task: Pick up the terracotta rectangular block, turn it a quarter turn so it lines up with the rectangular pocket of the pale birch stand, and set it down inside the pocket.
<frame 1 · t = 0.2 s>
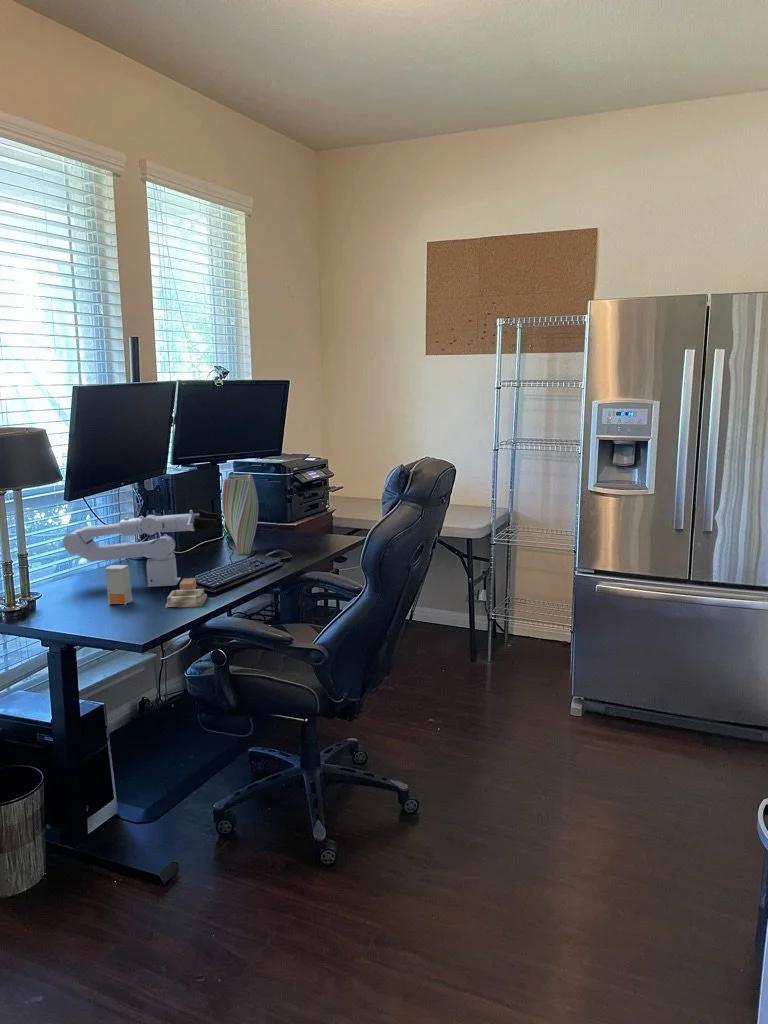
hand: (218, 520, 251), 21 cm above the table, tool horizontal, fingers open, 7 cm apart
skincare box: (120, 604, 234), on the table
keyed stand: (186, 602, 233), on the table
keyed block: (188, 594, 241), on the table
vase: (244, 553, 292), on the table
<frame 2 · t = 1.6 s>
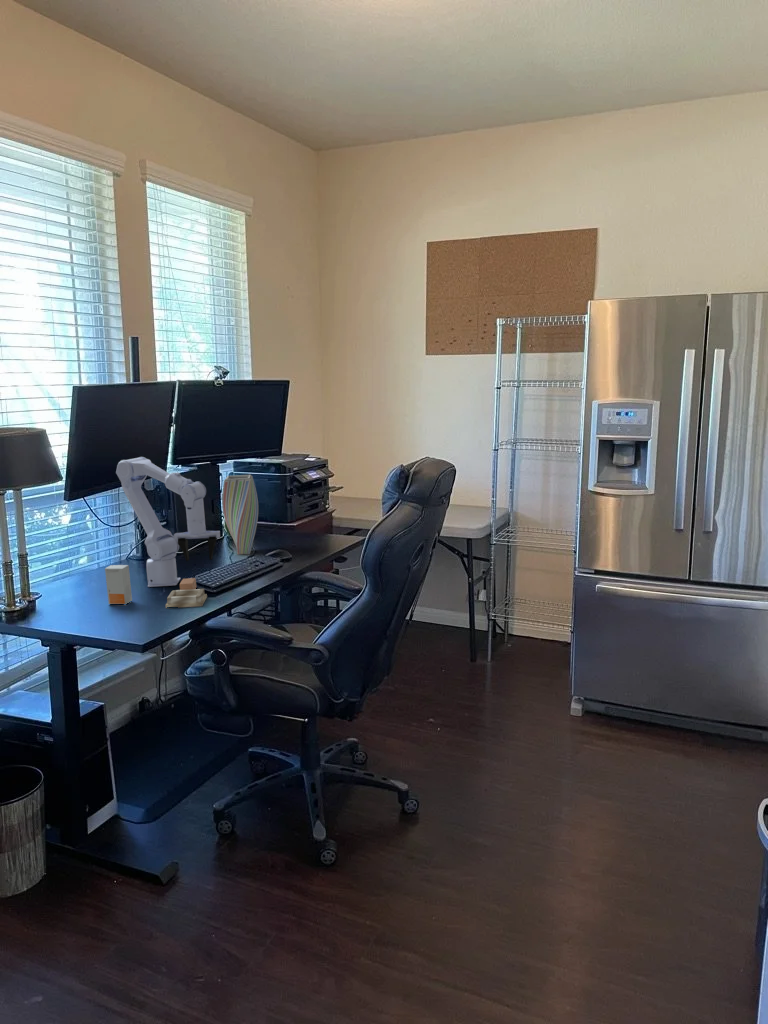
hand: (199, 559, 246), 9 cm above the table, tool pointing down, fingers open, 7 cm apart
nothing on the table moved.
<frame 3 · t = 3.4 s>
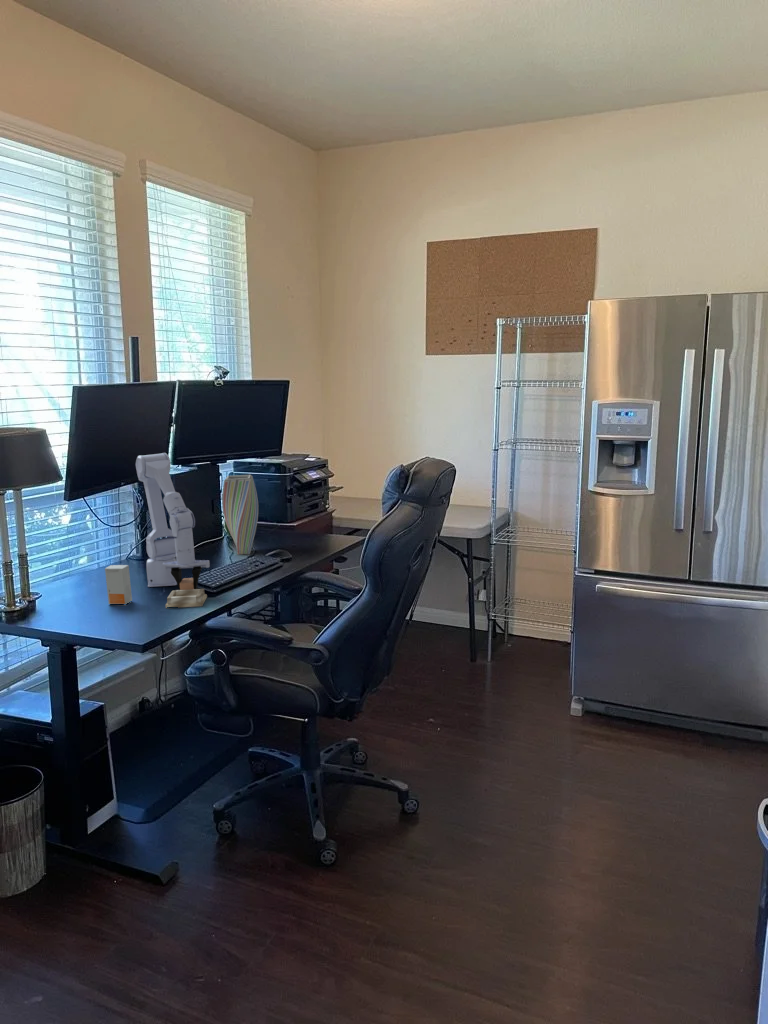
hand: (188, 589, 241), 1 cm above the table, tool pointing down, fingers closed on keyed block, 4 cm apart
keyed block: (188, 594, 241), on the table, touching gripper
everything else where it was.
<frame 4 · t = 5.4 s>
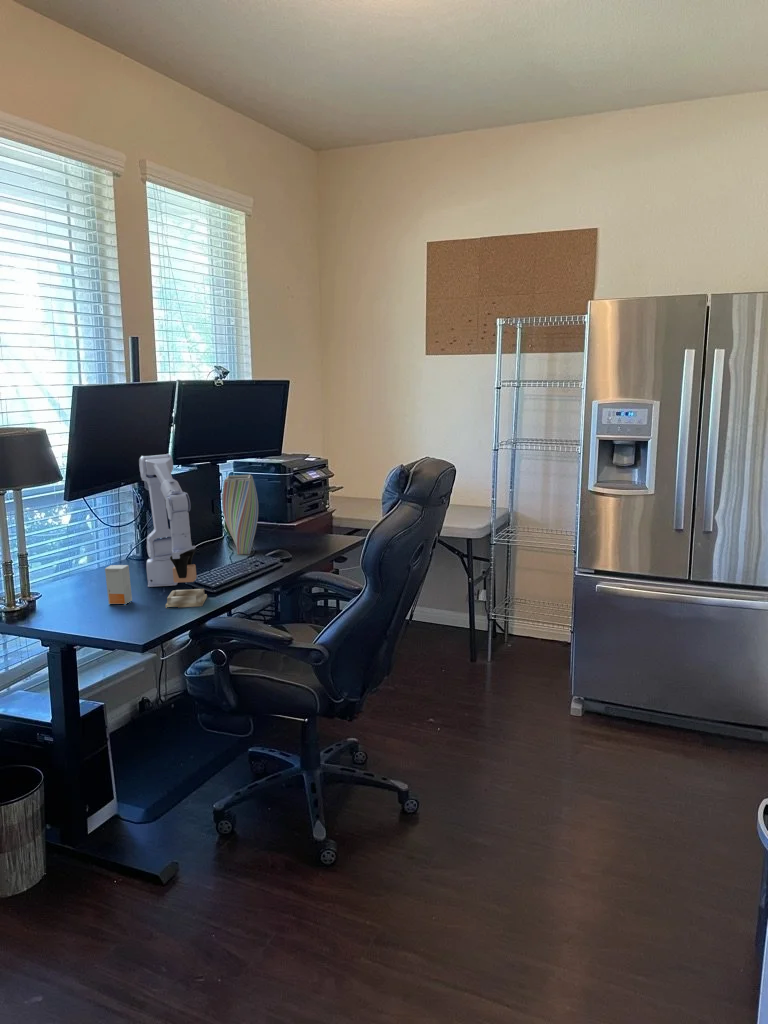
hand: (184, 575, 232), 8 cm above the table, tool pointing down, fingers closed on keyed block, 4 cm apart
keyed block: (185, 580, 232), point 7 cm above the table, touching gripper
everything else where it was.
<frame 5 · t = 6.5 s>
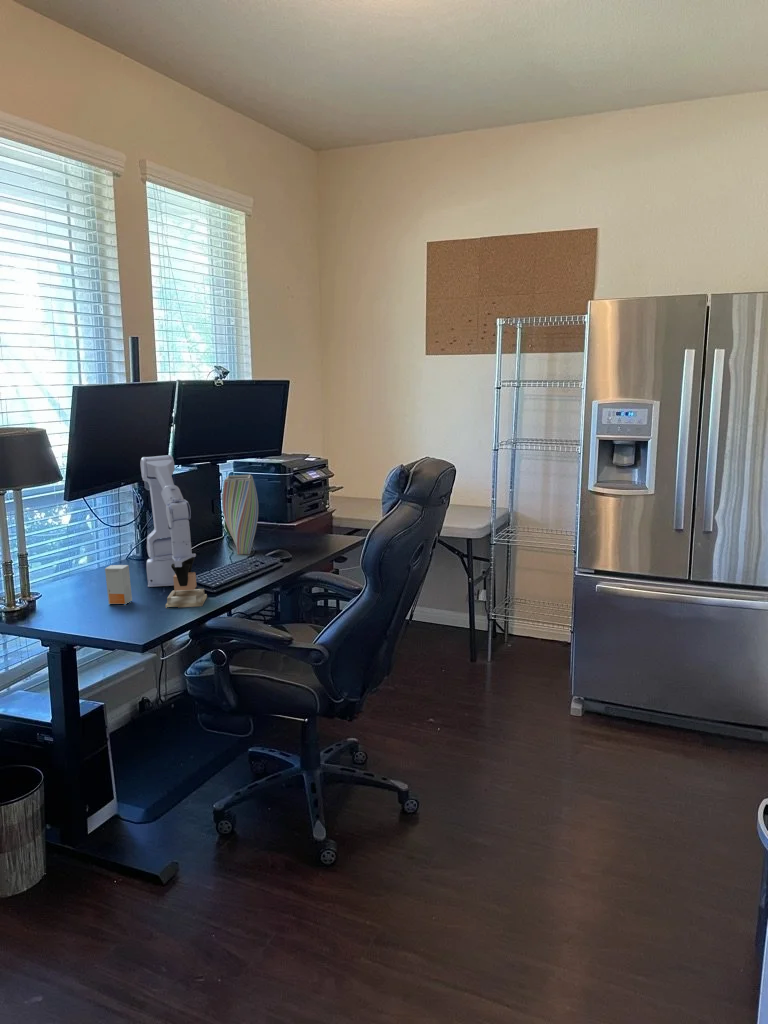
hand: (185, 583, 231), 6 cm above the table, tool pointing down, fingers closed on keyed block, 4 cm apart
keyed block: (185, 588, 232), point 5 cm above the table, touching gripper
everything else where it was.
when the fingers open (4 cm above the table, at t = 7.4 s): keyed block drops 1 cm, resting on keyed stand.
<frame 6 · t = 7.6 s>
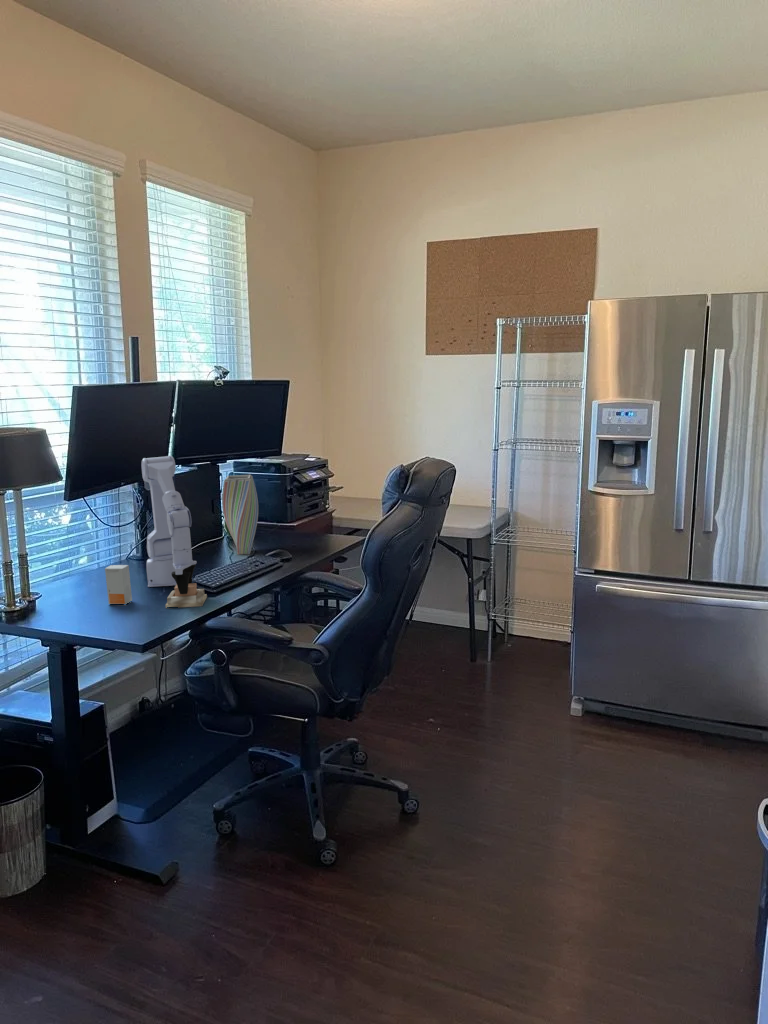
hand: (185, 590, 232), 4 cm above the table, tool pointing down, fingers open, 5 cm apart
keyed block: (186, 599, 232), point 1 cm above the table, touching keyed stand
everything else where it was.
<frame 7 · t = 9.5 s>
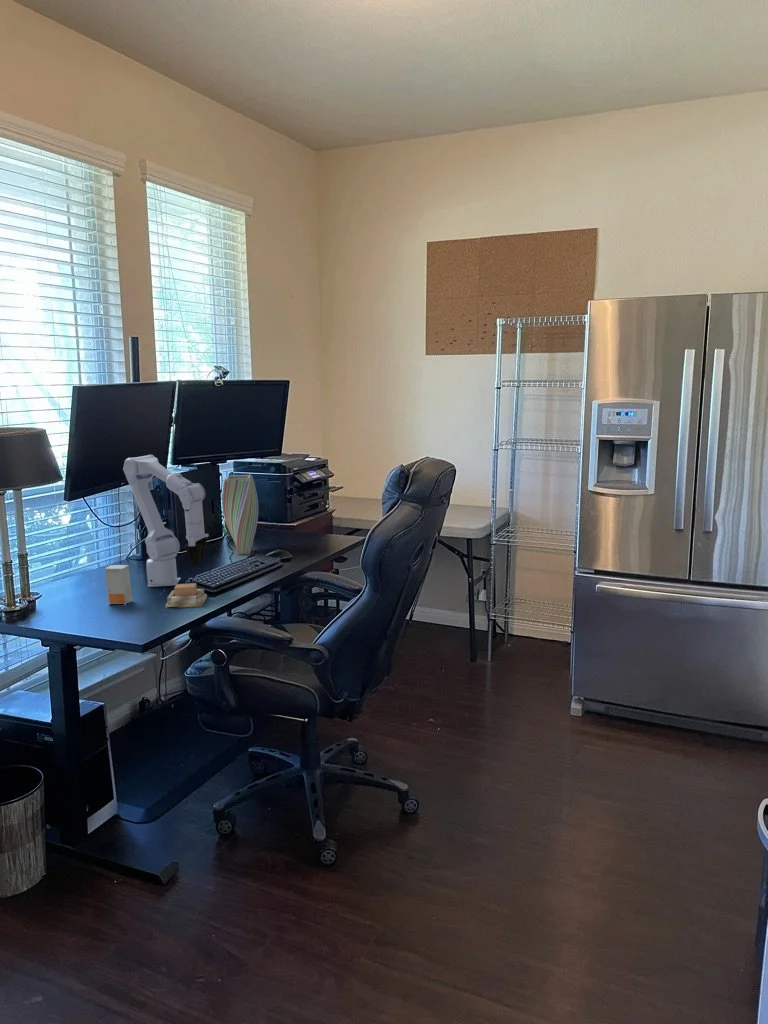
hand: (198, 562, 243), 9 cm above the table, tool pointing down, fingers open, 7 cm apart
nothing on the table moved.
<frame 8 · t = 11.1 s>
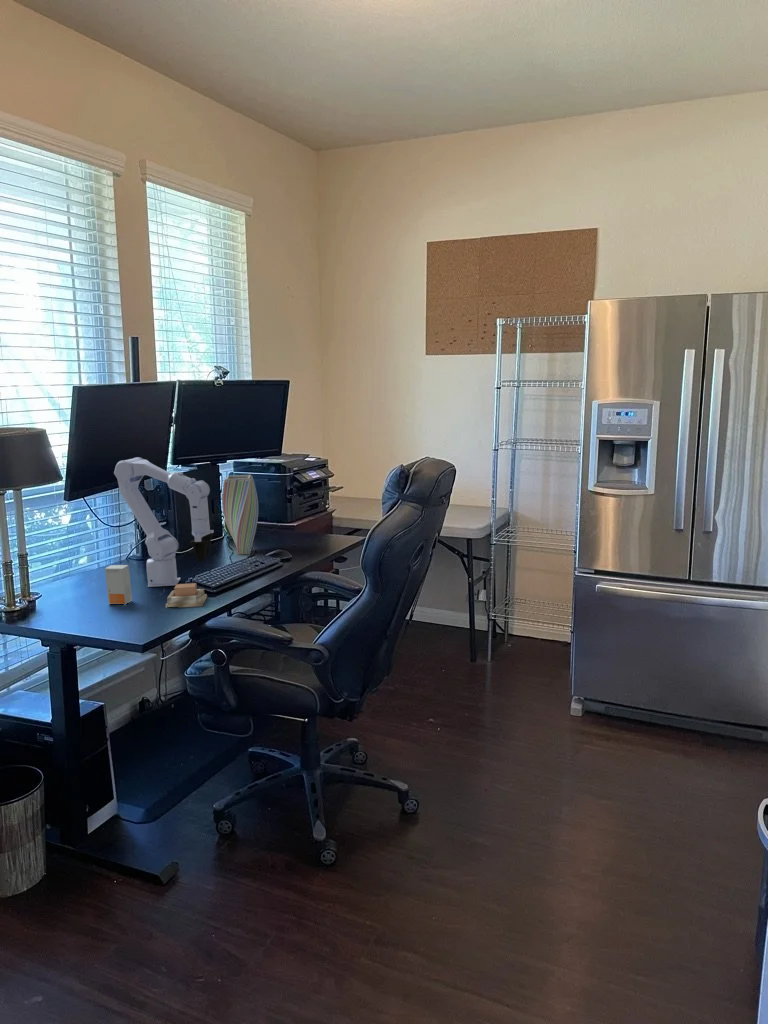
hand: (203, 558, 248), 9 cm above the table, tool pointing down, fingers open, 7 cm apart
nothing on the table moved.
at the end: keyed block 0.1 cm off-centre on the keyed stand, point 1.0 cm above the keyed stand's base; keyed block tilted 0°; the gripper is holding nothing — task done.
